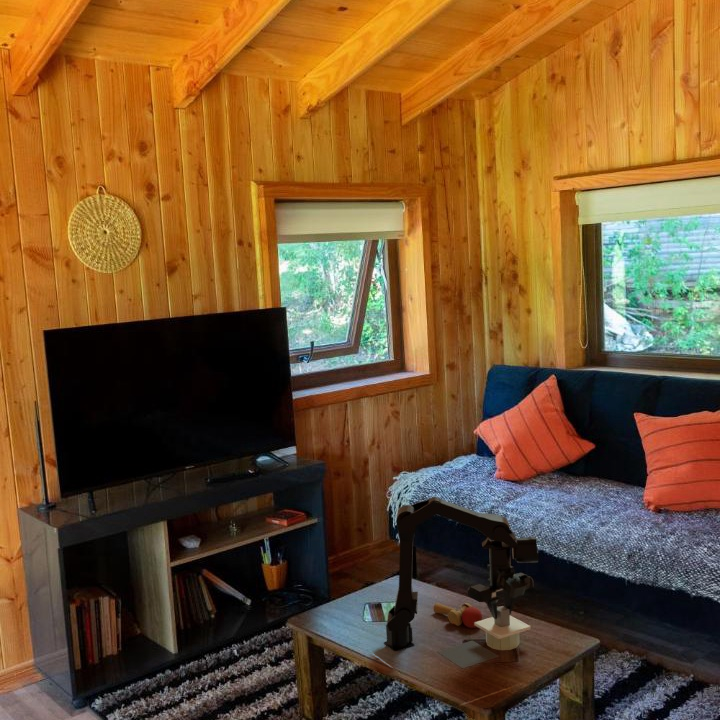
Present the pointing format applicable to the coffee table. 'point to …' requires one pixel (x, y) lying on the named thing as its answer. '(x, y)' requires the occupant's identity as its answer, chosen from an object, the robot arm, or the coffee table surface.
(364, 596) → the coffee table surface
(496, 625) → the lid
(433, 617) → the coffee table surface
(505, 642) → the bowl
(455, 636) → the coffee table surface
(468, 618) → the kendama
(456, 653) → the gray square plate
